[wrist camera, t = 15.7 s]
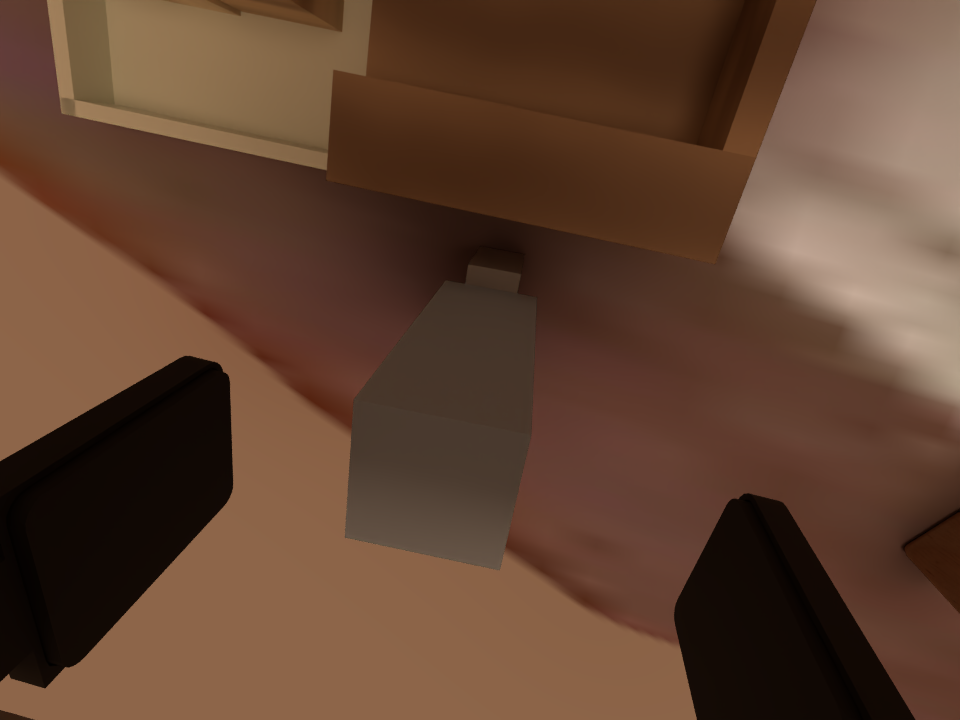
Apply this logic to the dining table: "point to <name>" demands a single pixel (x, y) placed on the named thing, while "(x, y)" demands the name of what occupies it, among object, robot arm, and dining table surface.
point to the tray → (206, 73)
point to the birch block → (209, 5)
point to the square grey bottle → (449, 421)
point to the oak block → (296, 11)
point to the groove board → (569, 111)
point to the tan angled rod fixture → (940, 557)
